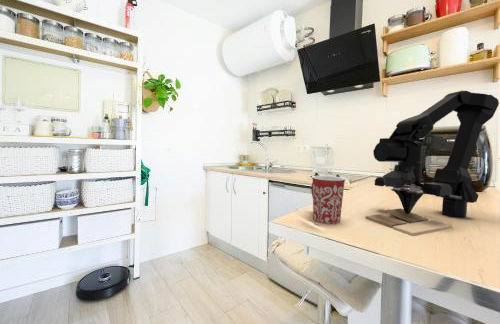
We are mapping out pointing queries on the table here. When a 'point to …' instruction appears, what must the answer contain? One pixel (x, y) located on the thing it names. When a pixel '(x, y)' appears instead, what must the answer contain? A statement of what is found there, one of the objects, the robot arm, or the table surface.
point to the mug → (327, 198)
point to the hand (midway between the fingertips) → (407, 213)
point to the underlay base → (422, 227)
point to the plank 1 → (385, 220)
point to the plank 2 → (407, 215)
